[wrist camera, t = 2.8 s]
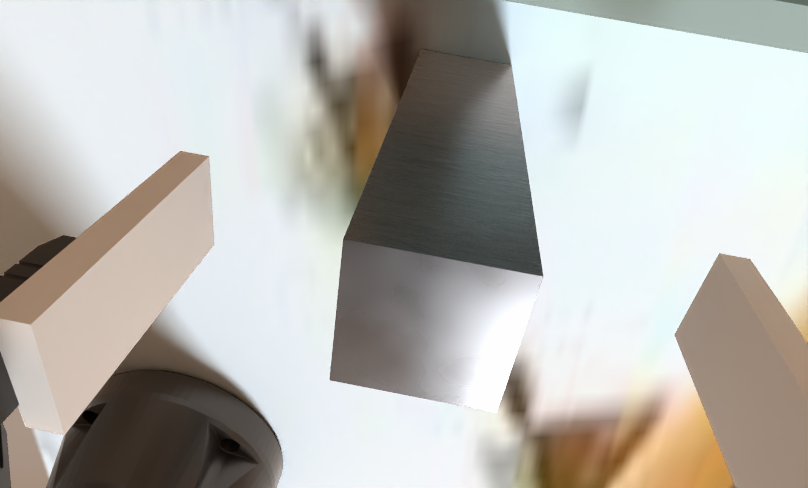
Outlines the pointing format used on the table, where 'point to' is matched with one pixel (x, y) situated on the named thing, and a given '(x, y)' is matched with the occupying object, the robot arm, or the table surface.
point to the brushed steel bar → (441, 243)
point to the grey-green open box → (705, 17)
